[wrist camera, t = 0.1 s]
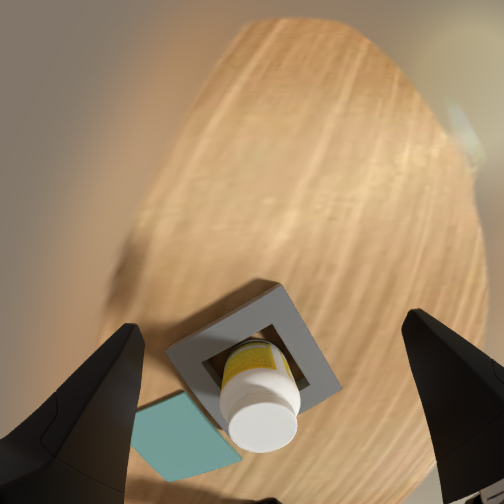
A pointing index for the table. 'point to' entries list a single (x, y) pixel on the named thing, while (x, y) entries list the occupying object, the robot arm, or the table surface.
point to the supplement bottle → (259, 397)
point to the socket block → (241, 327)
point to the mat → (180, 439)
